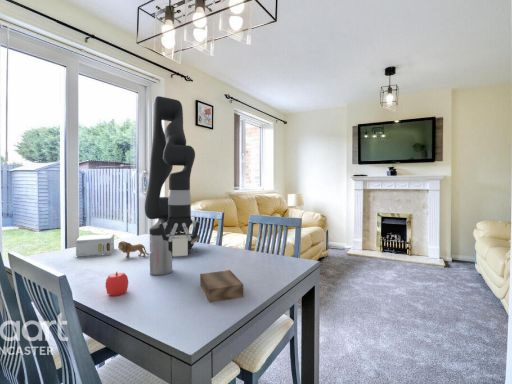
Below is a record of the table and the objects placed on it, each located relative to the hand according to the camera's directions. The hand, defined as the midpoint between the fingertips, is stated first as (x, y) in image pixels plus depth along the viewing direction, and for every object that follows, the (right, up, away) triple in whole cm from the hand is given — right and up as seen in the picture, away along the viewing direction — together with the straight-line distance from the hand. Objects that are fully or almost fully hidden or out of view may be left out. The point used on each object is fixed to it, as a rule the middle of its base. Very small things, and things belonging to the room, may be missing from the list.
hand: (179, 251), depth 97 cm
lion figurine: (-38, -14, +49) cm, 64 cm away
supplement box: (-63, -14, +58) cm, 87 cm away
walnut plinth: (+14, -16, +5) cm, 22 cm away
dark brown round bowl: (-18, -13, +60) cm, 64 cm away
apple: (-24, -16, +4) cm, 29 cm away
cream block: (0, -1, 0) cm, 1 cm away
